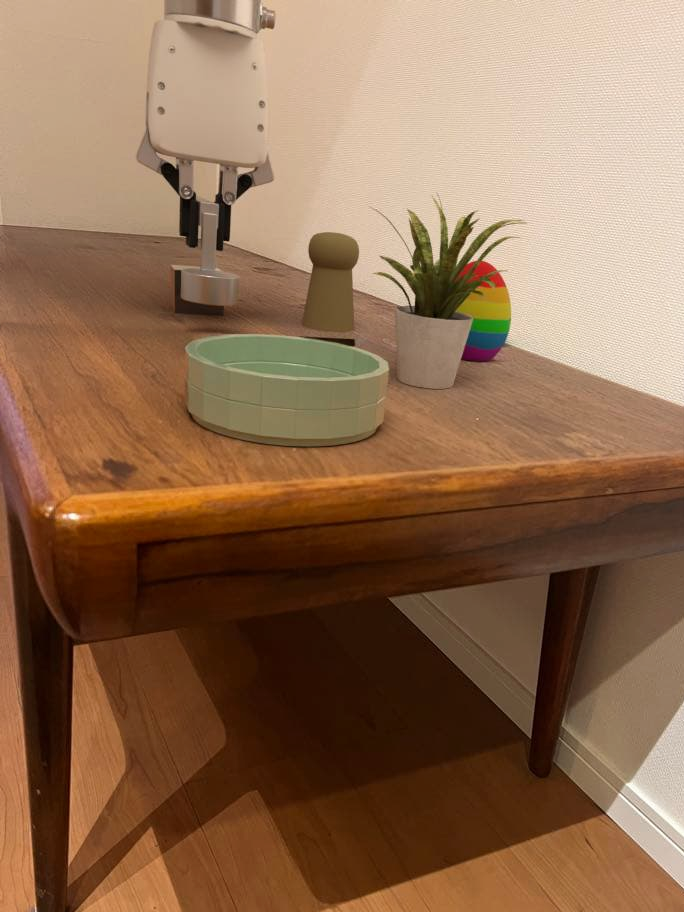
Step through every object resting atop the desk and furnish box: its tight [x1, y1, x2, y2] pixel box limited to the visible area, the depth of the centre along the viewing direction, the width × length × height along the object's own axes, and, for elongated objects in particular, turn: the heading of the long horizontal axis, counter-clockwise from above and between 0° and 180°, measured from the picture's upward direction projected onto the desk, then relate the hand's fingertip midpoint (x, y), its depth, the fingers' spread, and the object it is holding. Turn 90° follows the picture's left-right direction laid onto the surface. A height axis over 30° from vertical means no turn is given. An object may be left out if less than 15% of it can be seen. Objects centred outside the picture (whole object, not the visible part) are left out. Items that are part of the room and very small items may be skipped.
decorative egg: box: [455, 260, 512, 362], centre depth 84 cm, size 8×8×10 cm
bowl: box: [184, 333, 390, 447], centre depth 56 cm, size 14×14×4 cm
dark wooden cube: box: [169, 264, 225, 317], centre depth 82 cm, size 5×4×6 cm
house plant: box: [366, 193, 526, 390], centre depth 69 cm, size 14×14×16 cm
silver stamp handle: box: [181, 195, 240, 307], centre depth 74 cm, size 18×5×8 cm, turn 21°
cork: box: [298, 231, 360, 347], centre depth 82 cm, size 6×6×11 cm
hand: (204, 246), depth 72 cm, fingers closed on silver stamp handle
